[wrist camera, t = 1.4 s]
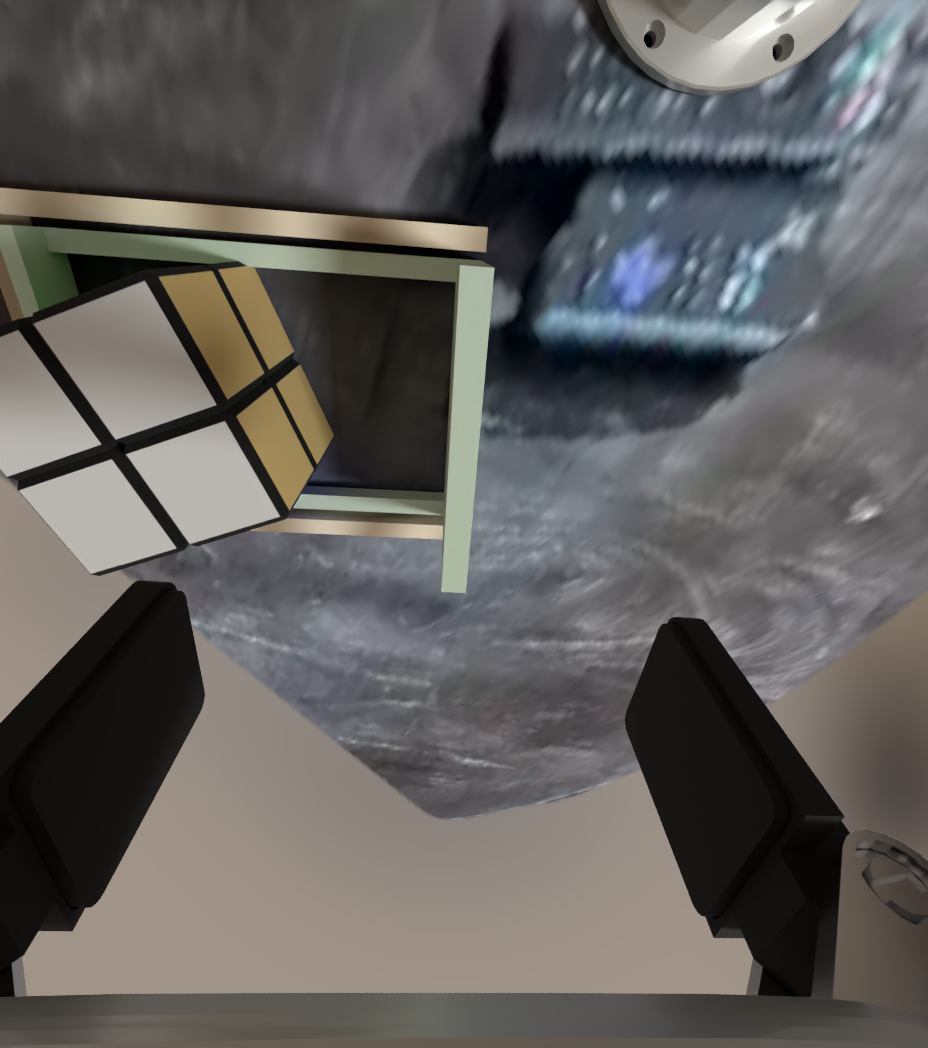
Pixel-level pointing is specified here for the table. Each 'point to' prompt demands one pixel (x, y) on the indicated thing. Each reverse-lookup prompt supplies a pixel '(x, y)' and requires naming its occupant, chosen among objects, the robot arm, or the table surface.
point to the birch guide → (22, 204)
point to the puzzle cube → (157, 414)
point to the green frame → (49, 277)
